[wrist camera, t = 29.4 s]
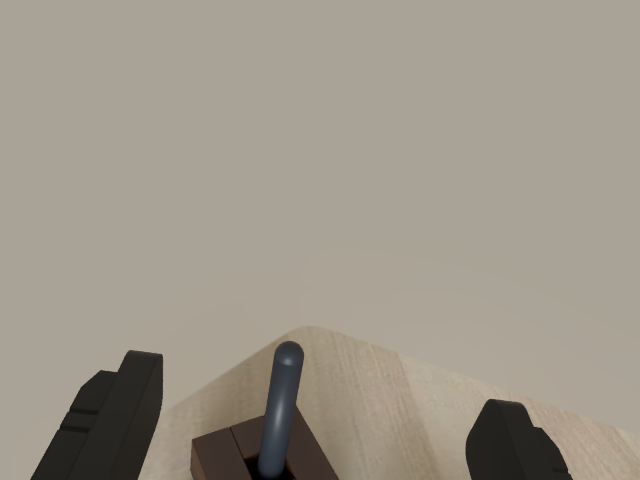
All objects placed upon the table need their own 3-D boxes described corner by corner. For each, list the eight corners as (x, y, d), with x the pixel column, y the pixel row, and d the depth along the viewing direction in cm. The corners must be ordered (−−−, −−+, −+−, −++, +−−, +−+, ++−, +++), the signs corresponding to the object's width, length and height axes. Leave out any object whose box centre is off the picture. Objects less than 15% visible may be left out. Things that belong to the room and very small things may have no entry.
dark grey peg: (258, 514, 32) (285, 355, 27) (248, 493, 34) (271, 338, 29) (282, 505, 33) (311, 349, 28) (271, 484, 35) (297, 332, 30)
